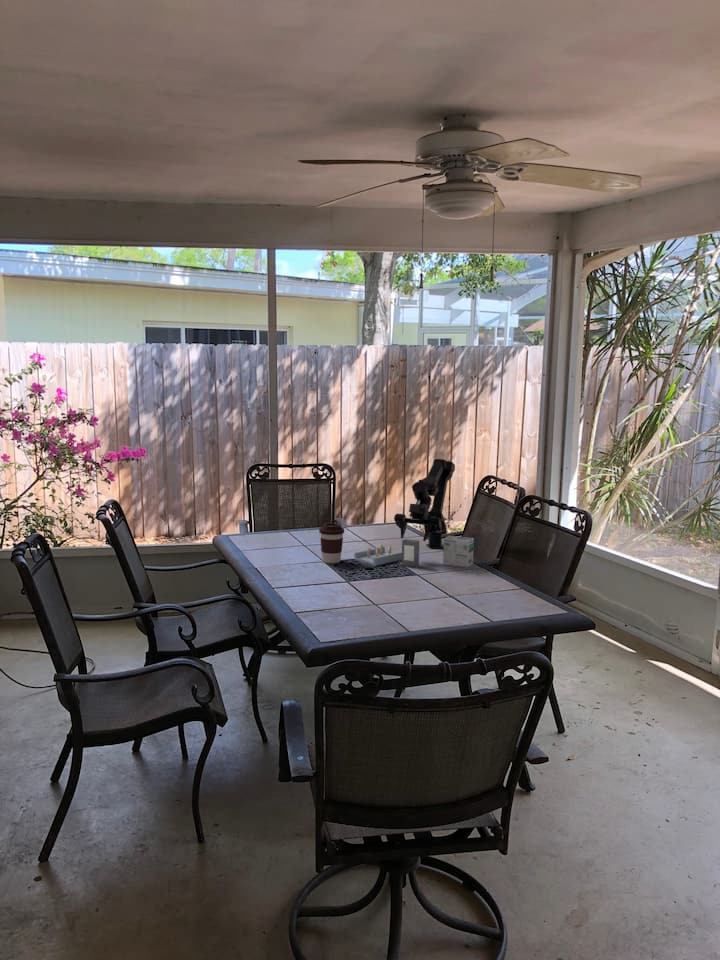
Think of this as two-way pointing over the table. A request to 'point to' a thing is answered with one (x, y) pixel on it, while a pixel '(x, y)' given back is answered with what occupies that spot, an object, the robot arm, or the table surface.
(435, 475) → the robot arm
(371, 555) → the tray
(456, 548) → the light bulb box
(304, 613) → the table surface
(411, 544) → the block
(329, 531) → the coffee cup
